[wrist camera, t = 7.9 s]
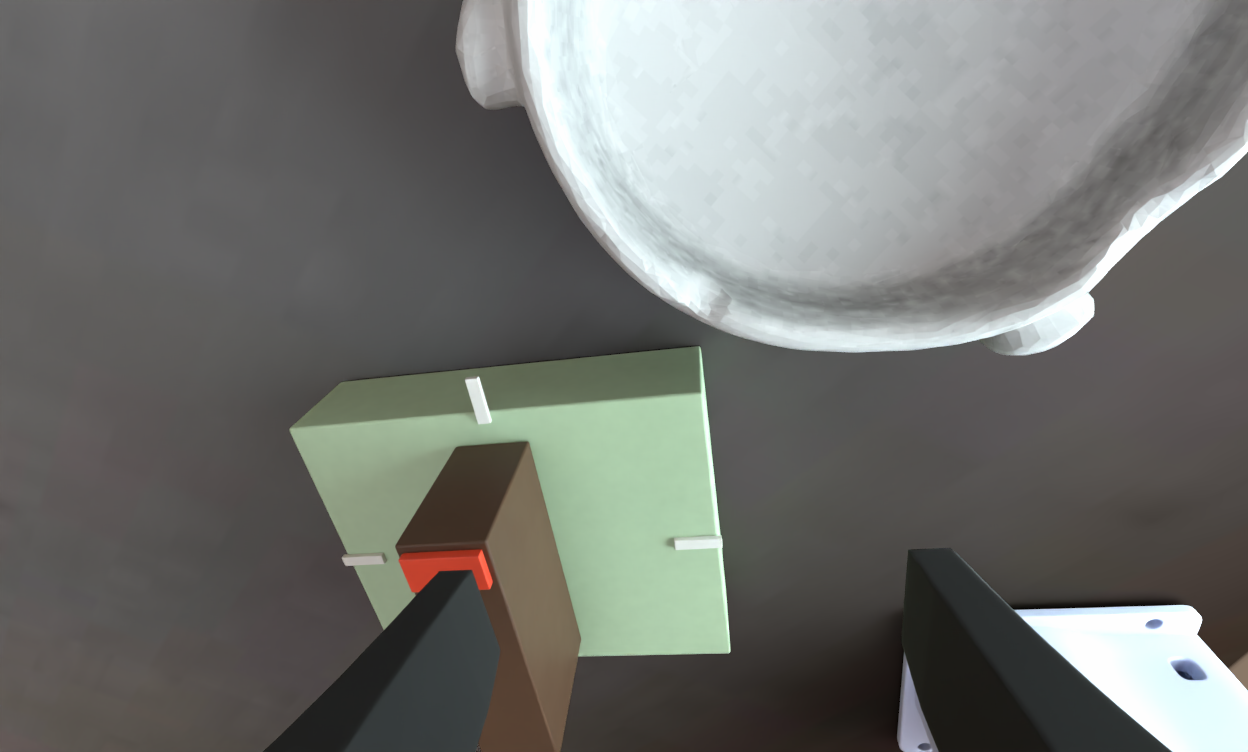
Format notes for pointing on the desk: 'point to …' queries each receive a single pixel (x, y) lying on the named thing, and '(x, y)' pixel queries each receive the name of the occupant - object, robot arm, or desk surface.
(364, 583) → the stand
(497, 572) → the brown block
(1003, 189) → the dish
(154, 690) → the desk surface
